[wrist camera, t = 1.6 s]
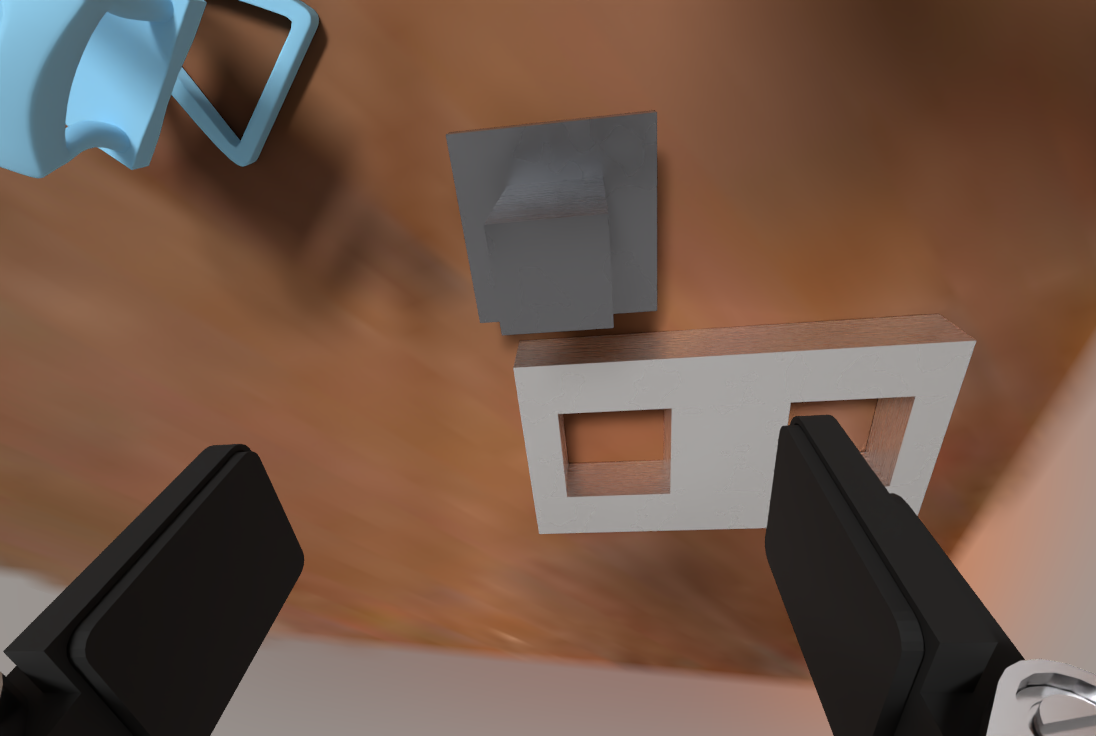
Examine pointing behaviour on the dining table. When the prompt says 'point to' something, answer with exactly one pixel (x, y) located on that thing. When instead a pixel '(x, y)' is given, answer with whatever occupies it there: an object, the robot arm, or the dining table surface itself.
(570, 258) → the flanged block
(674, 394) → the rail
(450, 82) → the dining table surface
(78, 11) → the chair
